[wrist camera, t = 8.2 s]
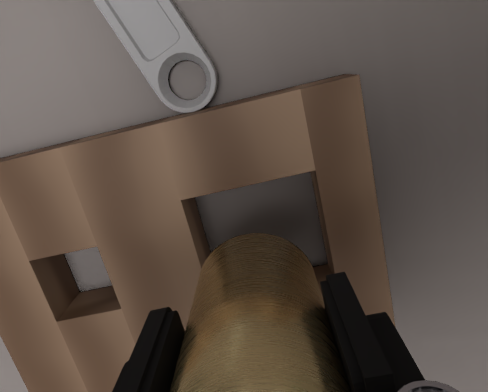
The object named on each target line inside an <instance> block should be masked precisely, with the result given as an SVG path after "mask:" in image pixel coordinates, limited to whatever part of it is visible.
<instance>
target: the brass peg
mask: <svg viewBox="0 0 488 392" xmlns="http://www.w3.org/2000/svg"><path fill="white" fill-rule="evenodd" d="M170 392H351V390H350V387H349V384H348V380H347V377H346V374H345V371H344V368H343V365H342V361H341V358H340V355H339V352H338V349H337V345H336V342H335V339H334V336H333V333H332V329H331V326H330V323H329V320H328V317H327V313H326V310H325V306H324V301H323V298H322V295H321V292H320V288H319V285H318V282H317V279H316V276H315V273H314V269H313V267H312V265H311V263H310V261H309V260H308V258H307V256H306V255H305V254H304V253H303V252H302V251H301V250H300V249H299V248H298V247H297V246H295V245H294V244H293V243H291V242H289V241H287V240H285V239H283V238H281V237H278V236H275V235H271V234H264V233H250V234H244V235H240V236H236V237H234V238H231V239H229V240H227V241H225V242H224V243H222V244H221V245H219V246H218V247H217V248H215V249H214V250H213V251H212V252H211V254H210V255H209V256H208V257H207V259H206V260H205V262H204V264H203V266H202V269H201V271H200V275H199V279H198V283H197V287H196V291H195V295H194V299H193V302H192V306H191V310H190V314H189V318H188V322H187V326H186V330H185V334H184V338H183V342H182V345H181V349H180V353H179V357H178V361H177V365H176V369H175V373H174V377H173V381H172V384H171V388H170Z"/></svg>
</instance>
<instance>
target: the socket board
mask: <svg viewBox="0 0 488 392" xmlns="http://www.w3.org/2000/svg"><path fill="white" fill-rule="evenodd" d="M306 172H310V173H311V178H312V183H313V188H314V194H315V199H316V204H317V209H318V214H319V219H320V225H321V230H322V235H323V240H324V245H325V250H326V256H327V261H328V264H326V265H321V266H316V267H313V269H314V273H315V276H316V279H317V282H318V285H319V288H320V292H321V295H322V291H321V286H320V281H325V280H326V275H330V274H335V273H340V272H345V273H346V275H347V277H348V279H349V281H350V283H351V286H352V288H353V290H354V292H355V294H356V296H357V298H358V300H359V303H360V305H361V307H362V309H363V311H364V313H365V315H370V314H375V313H381V312H386V313H387V314H388V316H389V317H390V319H391V321H392V323H393V324H394V326H395V321H394V314H393V307H392V300H391V293H390V286H389V279H388V272H387V265H386V258H385V251H384V244H383V237H382V230H381V223H380V216H379V209H378V202H377V195H376V188H375V181H374V174H373V167H372V160H371V153H370V146H369V139H368V132H367V125H366V118H365V112H364V105H363V98H362V91H361V84H360V77H359V75H352V74H343V75H339V76H335V77H331V78H327V79H323V80H319V81H315V82H310V83H306V84H302V85H298V86H294V87H290V88H286V89H282V90H278V91H274V92H270V93H265V94H261V95H257V96H253V97H249V98H245V99H241V100H237V101H233V102H229V103H225V104H220V105H216V106H212V107H208V108H204V109H200V110H197V111H195V112H189V113H184V114H180V115H175V116H171V117H167V118H163V119H159V120H155V121H151V122H147V123H143V124H139V125H135V126H130V127H126V128H122V129H118V130H114V131H110V132H106V133H102V134H98V135H94V136H90V137H85V138H81V139H77V140H73V141H69V142H65V143H61V144H57V145H53V146H49V147H45V148H40V149H36V150H32V151H28V152H24V153H20V154H16V155H12V156H8V157H4V158H0V336H1V338H2V340H3V342H4V344H5V346H6V347H7V349H8V351H9V353H10V355H11V357H12V359H13V361H14V363H15V365H16V367H17V369H18V371H19V373H20V375H21V377H22V379H23V381H24V383H25V385H26V387H27V389H28V391H29V392H112V391H113V389H114V386H115V384H116V382H117V379H118V377H119V375H120V372H121V370H122V368H123V366H124V364H125V363H126V362H127V361H129V359H130V356H131V354H132V352H133V349H134V347H135V345H136V342H137V340H138V338H139V335H140V333H141V331H142V328H143V326H144V324H145V321H146V319H147V316H148V314H149V312H150V311H151V310H156V309H161V308H166V307H170V308H171V309H172V311H175V310H176V311H178V313H179V316H180V319H181V322H182V324H183V327H184V330H186V326H187V322H188V318H189V314H190V310H191V306H192V302H193V299H194V295H195V291H196V287H197V283H198V279H199V275H200V271H201V269H202V266H203V264H204V262H205V260H206V259H207V257H208V256H209V255H210V254H211V253H210V249H209V246H208V242H207V239H206V236H205V232H204V229H203V225H202V222H201V218H200V215H199V212H198V208H197V205H196V201H195V198H194V197H198V196H202V195H207V194H211V193H216V192H220V191H225V190H229V189H234V188H238V187H243V186H247V185H252V184H256V183H261V182H265V181H270V180H274V179H279V178H283V177H288V176H293V175H297V174H302V173H306ZM92 247H98V249H99V252H100V255H101V257H102V260H103V262H104V265H105V267H106V270H107V273H108V275H109V278H110V280H111V283H112V286H109V287H104V288H99V289H94V290H89V291H84V292H79V290H78V287H77V285H76V283H75V280H74V278H73V275H72V273H71V271H70V268H69V266H68V263H67V261H66V259H65V256H64V253H69V252H73V251H78V250H83V249H87V248H92ZM322 298H323V296H322Z"/></svg>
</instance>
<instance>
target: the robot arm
mask: <svg viewBox="0 0 488 392" xmlns="http://www.w3.org/2000/svg"><path fill="white" fill-rule="evenodd" d="M320 286H321V291H322V296H323V301H324V306H325V310H326V313H327V317H328V320H329V323H330V326H331V329H332V333H333V336H334V339H335V342H336V345H337V349H338V352H339V355H340V358H341V361H342V365H343V368H344V371H345V374H346V377H347V380H348V384H349V387H350V390H351V392H459V391H458V390H456V389H454V388H453V387H451V386H449V385H447V384H443V383H440V382H437V381H428V380H425V379H424V377H423V376H422V374H421V372H420V370H419V369H418V367H417V365H416V363H415V362H414V360H413V358H412V356H411V354H410V353H409V351H408V349H407V347H406V346H405V344H404V342H403V340H402V339H401V337H400V335H399V333H398V332H397V330H396V328H395V326H394V324H393V323H392V321H391V319H390V317H389V316H388V314H387V313H386V312H381V313H375V314H370V315H365V313H364V311H363V309H362V307H361V305H360V303H359V300H358V298H357V296H356V294H355V292H354V290H353V288H352V286H351V283H350V281H349V279H348V277H347V275H346V273H345V272H340V273H335V274H330V275H326V280H325V281H320ZM184 334H185V330H184V327H183V324H182V322H181V319H180V316H179V313H178V311H176V310H175V311H172V309H171V308H170V307H166V308H161V309H156V310H151V311H150V312H149V314H148V316H147V319H146V321H145V324H144V326H143V328H142V331H141V333H140V335H139V338H138V340H137V342H136V345H135V347H134V349H133V352H132V354H131V356H130V359H129V361H127V362H126V363H125V364H124V366H123V368H122V370H121V372H120V375H119V377H118V379H117V382H116V384H115V386H114V389H113V391H112V392H170V388H171V384H172V381H173V377H174V373H175V369H176V365H177V361H178V357H179V353H180V349H181V345H182V342H183V338H184Z"/></svg>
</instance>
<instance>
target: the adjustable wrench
mask: <svg viewBox="0 0 488 392" xmlns="http://www.w3.org/2000/svg"><path fill="white" fill-rule="evenodd" d="M93 1H94V2H95V4H96V5H97V7H98V8H99V10H100V11H101V13H102V14H103V16H104V17H105V19H106V20H107V22H108V23H109V25H110V26H111V28H112V29H113V31H114V32H115V33H116V35H117V36H118V38H119V39H120V41H121V42H122V44H123V45H124V47H125V48H126V50H127V51H128V53H129V54H130V56H131V57H132V59H133V60H134V62H135V63H136V65H137V66H138V68H139V69H140V71H141V72H142V74H143V75H144V77H145V78H146V79H147V81H148V82H149V84H150V85H151V87H152V88H153V90H154V91H155V93H156V94H157V96H158V97H159V99H160V100H161V101H162V102H163V103H164V104H165V105H166V106H167V107H169V108H171V109H172V110H174V111H178V112H182V113H189V112H195V111H197V110H199V109H201V108H203V107H204V106H206V105H207V104H208V103H209V102H210V101H211V100H212V99H213V97H214V95H215V93H216V91H217V85H218V76H217V71H216V69H215V66H214V64H213V62H212V61H211V59H210V58H209V56H208V55H207V53H206V52H205V50H204V49H203V47H202V46H201V44H200V43H199V41H198V39H197V38H196V36H195V35H194V33H193V32H192V30H191V29H190V27H189V26H188V24H187V23H186V21H185V20H184V18H183V17H182V15H181V14H180V12H179V11H178V9H177V8H176V6H175V5H174V3H173V2H172V0H93ZM182 60H190V61H194V62H196V63H197V64H199V65H200V66H201V67H202V69H203V70H204V72H205V75H206V87H205V89H204V91H203V93H202V94H201V95H200V96H199V97H197V98H195V99H193V100H184V99H181V98H179V97H177V96H176V95H175V94H174V93H173V92H172V91H171V89H170V87H169V83H168V75H169V72H170V70H171V68H172V67H173V66H174V65H175V63H177V62H179V61H182Z"/></svg>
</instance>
